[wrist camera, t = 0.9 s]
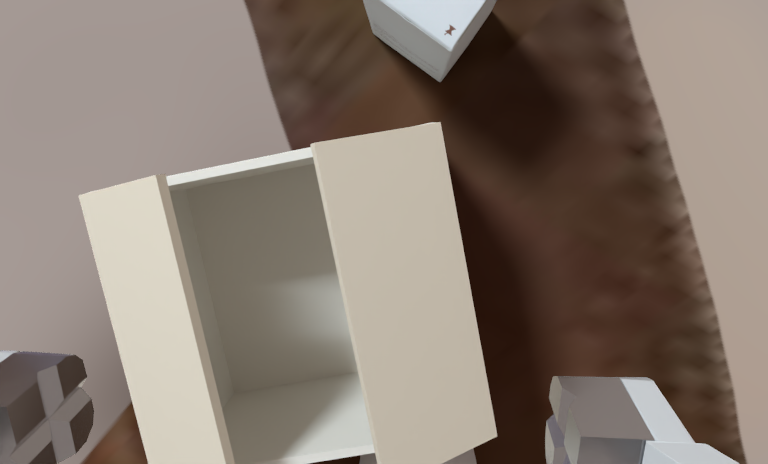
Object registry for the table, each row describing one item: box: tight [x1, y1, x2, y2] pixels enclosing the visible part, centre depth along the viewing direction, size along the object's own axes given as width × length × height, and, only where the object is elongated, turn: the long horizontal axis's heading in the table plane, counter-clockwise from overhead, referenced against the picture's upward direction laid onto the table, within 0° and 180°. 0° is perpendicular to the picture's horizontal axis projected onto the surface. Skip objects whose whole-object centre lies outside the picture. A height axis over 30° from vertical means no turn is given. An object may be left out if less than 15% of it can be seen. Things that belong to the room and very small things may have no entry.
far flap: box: [79, 174, 235, 464], centre depth 33 cm, size 20×8×1 cm, turn 11°
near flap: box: [310, 122, 497, 464], centre depth 32 cm, size 20×8×1 cm, turn 11°
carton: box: [88, 122, 435, 464], centre depth 42 cm, size 20×22×14 cm
